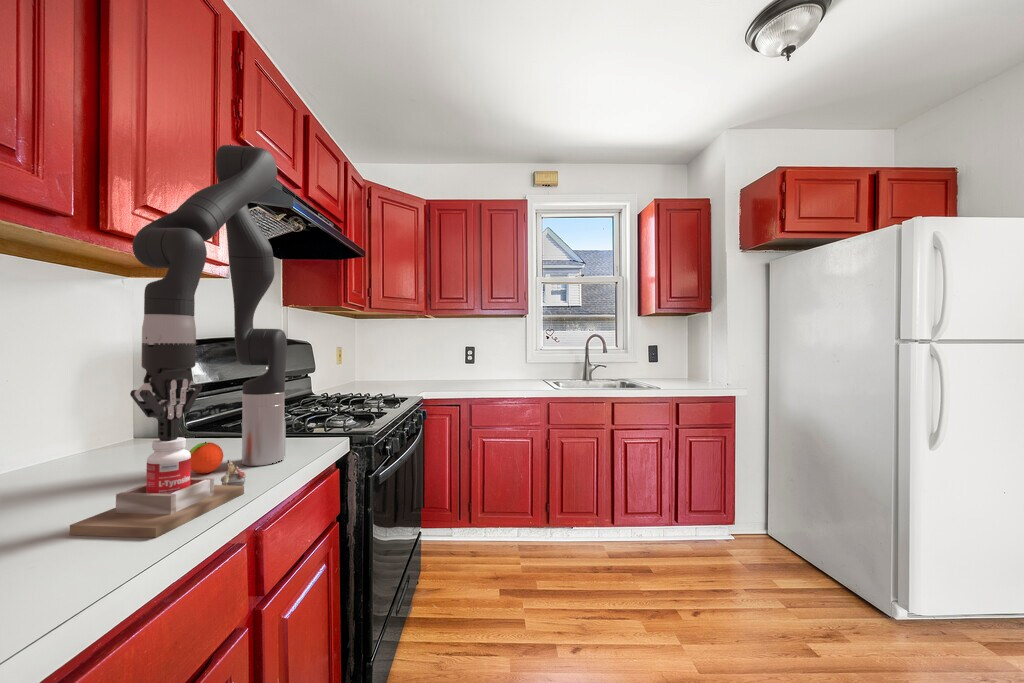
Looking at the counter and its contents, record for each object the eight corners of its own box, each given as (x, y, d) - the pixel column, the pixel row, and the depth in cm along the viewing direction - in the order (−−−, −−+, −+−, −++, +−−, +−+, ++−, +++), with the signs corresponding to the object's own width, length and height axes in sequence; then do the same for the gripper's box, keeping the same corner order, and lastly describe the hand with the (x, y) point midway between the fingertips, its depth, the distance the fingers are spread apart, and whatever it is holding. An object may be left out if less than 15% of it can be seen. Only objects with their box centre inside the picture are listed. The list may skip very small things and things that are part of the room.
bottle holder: (176, 491, 88) (176, 468, 88) (244, 493, 87) (244, 470, 87) (69, 534, 68) (70, 505, 68) (155, 537, 67) (156, 508, 67)
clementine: (203, 479, 96) (203, 446, 96) (174, 478, 96) (174, 445, 97) (230, 469, 104) (230, 439, 104) (203, 468, 104) (203, 438, 104)
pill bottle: (155, 511, 73) (156, 445, 74) (139, 504, 77) (139, 441, 77) (197, 500, 79) (198, 438, 79) (180, 494, 82) (180, 434, 82)
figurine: (233, 480, 95) (231, 453, 94) (252, 481, 94) (251, 455, 94) (214, 492, 89) (212, 464, 89) (235, 493, 89) (233, 465, 88)
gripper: (179, 341, 85) (178, 432, 84) (113, 340, 71) (111, 448, 71) (217, 341, 84) (216, 433, 84) (157, 341, 71) (156, 449, 71)
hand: (168, 440), depth 78 cm, fingers closed
